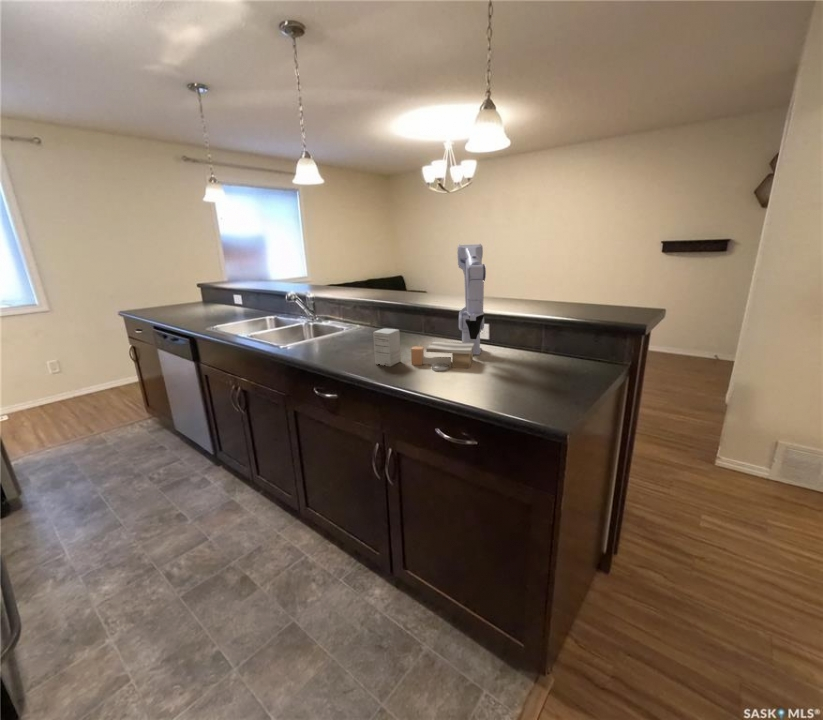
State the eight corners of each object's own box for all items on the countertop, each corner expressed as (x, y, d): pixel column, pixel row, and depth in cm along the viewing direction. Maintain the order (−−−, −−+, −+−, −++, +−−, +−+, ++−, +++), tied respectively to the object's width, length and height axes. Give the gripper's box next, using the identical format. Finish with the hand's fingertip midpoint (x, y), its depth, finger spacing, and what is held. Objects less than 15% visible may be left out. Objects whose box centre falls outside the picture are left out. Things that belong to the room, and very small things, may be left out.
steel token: (433, 366, 142) (433, 362, 142) (450, 367, 140) (450, 363, 140) (430, 371, 136) (430, 367, 136) (447, 372, 135) (447, 368, 134)
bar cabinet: (433, 357, 152) (432, 341, 150) (474, 359, 148) (474, 343, 146) (426, 366, 142) (426, 348, 140) (470, 368, 138) (470, 350, 136)
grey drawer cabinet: (385, 359, 152) (383, 327, 149) (401, 361, 148) (400, 329, 145) (374, 364, 146) (372, 331, 143) (390, 366, 142) (389, 333, 139)
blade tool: (413, 361, 148) (413, 346, 146) (451, 362, 145) (451, 347, 144) (411, 364, 144) (411, 349, 142) (450, 365, 142) (450, 349, 140)
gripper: (466, 296, 146) (466, 332, 149) (461, 302, 132) (460, 340, 136) (485, 296, 144) (484, 332, 148) (482, 302, 130) (481, 341, 134)
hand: (474, 336), depth 142 cm, fingers open, 7 cm apart
